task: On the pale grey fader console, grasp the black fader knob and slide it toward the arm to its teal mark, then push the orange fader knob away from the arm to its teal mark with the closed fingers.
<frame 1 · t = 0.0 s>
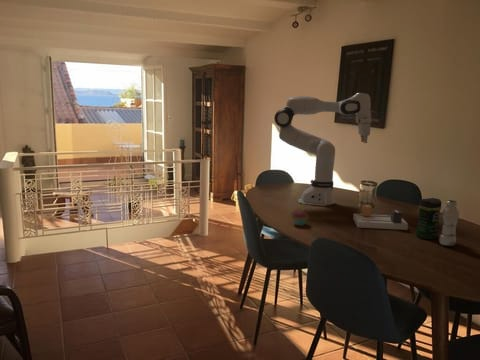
hand: (364, 142, 242), 39 cm above the table, tool pointing down, fingers open, 8 cm apart
plastic bottle: (446, 245, 175), on the table
cupcake: (299, 224, 204), on the table
fader b: (366, 210, 210), point 6 cm above the table, slide at -6.0 cm
fader a: (396, 216, 200), point 6 cm above the table, slide at 7.0 cm
console: (379, 224, 206), on the table
coffee jar: (426, 237, 186), on the table
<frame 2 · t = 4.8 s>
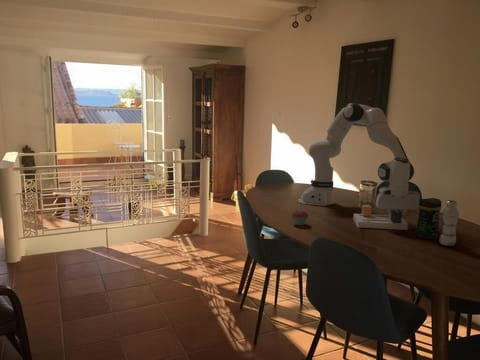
hand: (396, 217, 200), 5 cm above the table, tool pointing down, fingers closed on fader a, 4 cm apart
fader a: (396, 216, 200), point 6 cm above the table, slide at 7.0 cm, touching gripper
everything else where it was.
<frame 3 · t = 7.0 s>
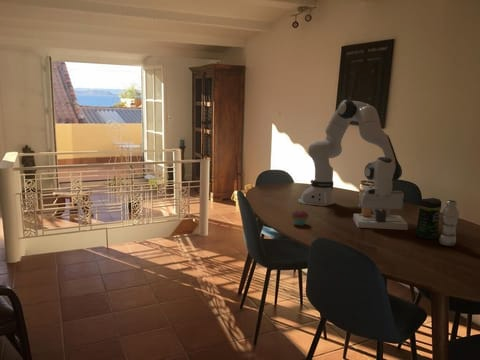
hand: (380, 216, 201), 5 cm above the table, tool pointing down, fingers closed on fader a, 4 cm apart
fader a: (380, 215, 201), point 6 cm above the table, slide at -0.6 cm, touching gripper
everything else where it was.
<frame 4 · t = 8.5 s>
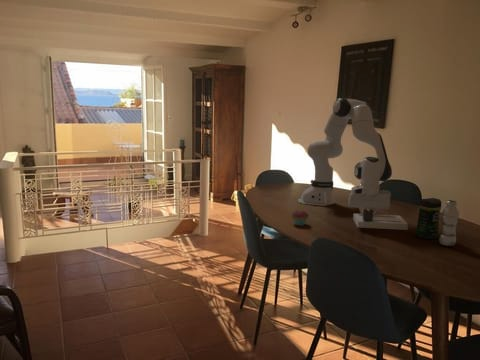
hand: (367, 216, 202), 5 cm above the table, tool pointing down, fingers closed on fader a, 4 cm apart
fader a: (367, 214, 201), point 6 cm above the table, slide at -6.8 cm, touching gripper
everything else where it was.
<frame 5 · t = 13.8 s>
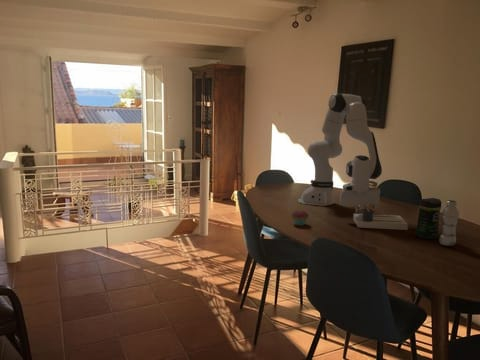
hand: (358, 212, 211), 5 cm above the table, tool pointing down, fingers closed
fader b: (367, 210, 210), point 6 cm above the table, slide at -5.5 cm, touching gripper
fader a: (367, 214, 201), point 6 cm above the table, slide at -6.9 cm
everything else where it was.
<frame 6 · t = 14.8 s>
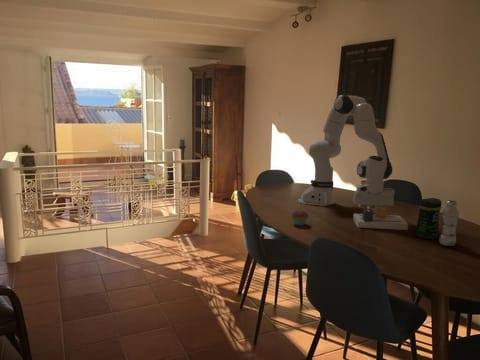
hand: (372, 213, 210), 5 cm above the table, tool pointing down, fingers closed
fader b: (381, 211, 209), point 6 cm above the table, slide at 1.6 cm, touching gripper
everything else where it was.
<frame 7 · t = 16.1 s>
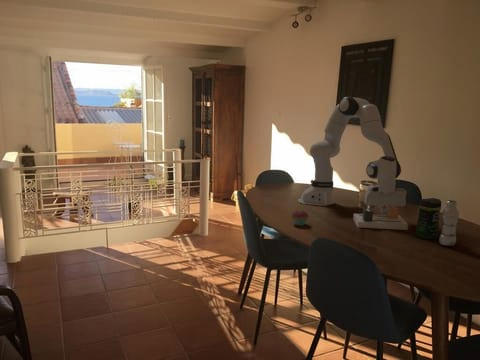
hand: (383, 213, 209), 5 cm above the table, tool pointing down, fingers closed
fader b: (393, 211, 208), point 6 cm above the table, slide at 7.5 cm, touching gripper
everything else where it was.
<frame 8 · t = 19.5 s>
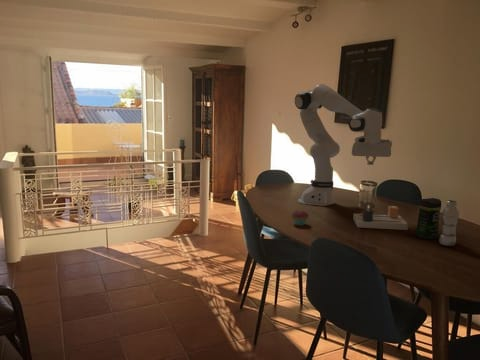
hand: (370, 164, 215), 29 cm above the table, tool pointing down, fingers closed
fader b: (393, 211, 208), point 6 cm above the table, slide at 7.5 cm
everything else where it was.
at the end: fader a slide at -6.9 cm; fader b slide at 7.5 cm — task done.
